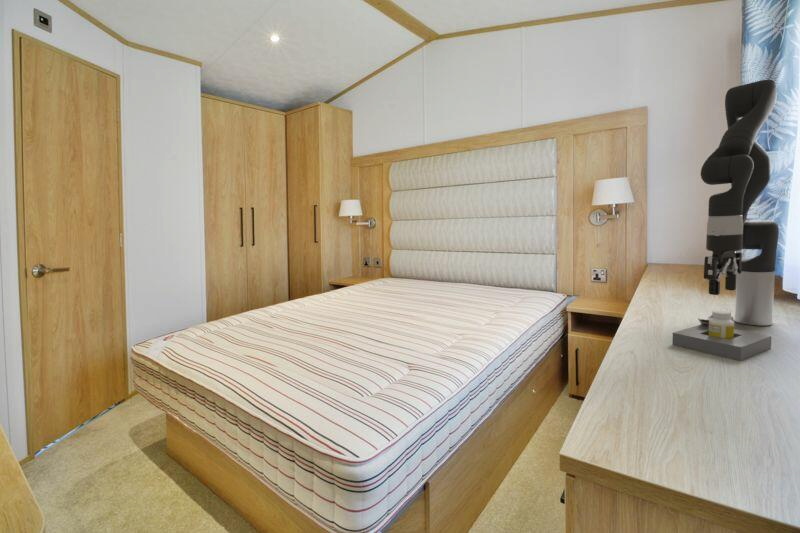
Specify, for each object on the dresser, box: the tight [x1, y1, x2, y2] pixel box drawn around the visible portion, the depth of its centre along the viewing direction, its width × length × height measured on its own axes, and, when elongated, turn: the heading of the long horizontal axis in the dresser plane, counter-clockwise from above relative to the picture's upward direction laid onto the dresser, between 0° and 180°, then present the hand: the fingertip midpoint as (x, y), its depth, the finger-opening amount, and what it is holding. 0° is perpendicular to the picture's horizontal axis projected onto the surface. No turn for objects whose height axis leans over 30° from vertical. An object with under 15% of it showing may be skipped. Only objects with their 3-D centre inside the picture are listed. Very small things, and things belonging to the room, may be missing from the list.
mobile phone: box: [697, 314, 734, 325], centre depth 123 cm, size 6×6×25 cm
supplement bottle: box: [709, 309, 735, 340], centre depth 108 cm, size 5×5×10 cm
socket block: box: [672, 323, 772, 362], centre depth 109 cm, size 16×16×4 cm
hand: (722, 292), depth 107 cm, fingers open, 8 cm apart
